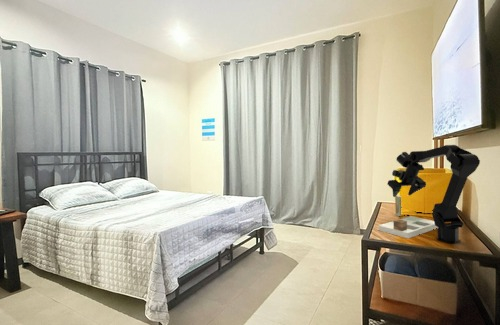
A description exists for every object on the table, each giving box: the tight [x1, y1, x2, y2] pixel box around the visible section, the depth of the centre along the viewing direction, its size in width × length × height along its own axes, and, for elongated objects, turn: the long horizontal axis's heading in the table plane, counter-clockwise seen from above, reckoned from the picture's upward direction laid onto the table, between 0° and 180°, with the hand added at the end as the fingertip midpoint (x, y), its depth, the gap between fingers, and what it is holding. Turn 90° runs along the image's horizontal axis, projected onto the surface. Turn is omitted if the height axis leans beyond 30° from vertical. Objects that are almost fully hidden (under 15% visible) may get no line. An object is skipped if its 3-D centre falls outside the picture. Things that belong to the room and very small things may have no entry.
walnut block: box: [392, 219, 407, 231], centre depth 120 cm, size 4×4×4 cm
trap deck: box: [377, 215, 438, 239], centre depth 128 cm, size 14×28×2 cm, turn 119°
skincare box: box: [394, 194, 402, 217], centre depth 151 cm, size 6×4×12 cm
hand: (401, 195), depth 139 cm, fingers open, 9 cm apart
